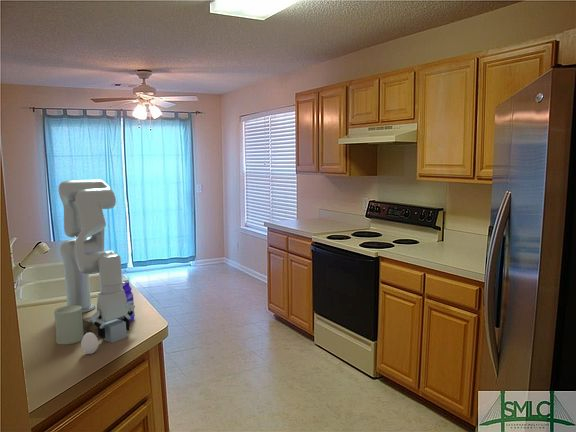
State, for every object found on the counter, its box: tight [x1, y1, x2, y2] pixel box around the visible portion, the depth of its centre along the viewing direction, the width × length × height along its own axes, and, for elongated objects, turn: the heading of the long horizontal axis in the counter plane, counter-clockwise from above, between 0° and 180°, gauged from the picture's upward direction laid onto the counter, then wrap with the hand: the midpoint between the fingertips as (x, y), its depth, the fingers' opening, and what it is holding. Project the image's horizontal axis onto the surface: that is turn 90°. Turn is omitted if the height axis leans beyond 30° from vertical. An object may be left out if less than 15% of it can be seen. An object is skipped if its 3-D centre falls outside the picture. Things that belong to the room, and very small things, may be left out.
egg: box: [80, 332, 99, 355], centre depth 149 cm, size 5×5×7 cm
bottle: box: [121, 277, 135, 322], centre depth 180 cm, size 7×6×17 cm
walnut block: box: [82, 316, 121, 337], centre depth 171 cm, size 10×10×5 cm
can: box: [53, 305, 85, 345], centre depth 162 cm, size 9×9×12 cm
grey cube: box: [103, 319, 128, 344], centre depth 162 cm, size 6×6×6 cm
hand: (114, 333), depth 162 cm, fingers open, 9 cm apart
